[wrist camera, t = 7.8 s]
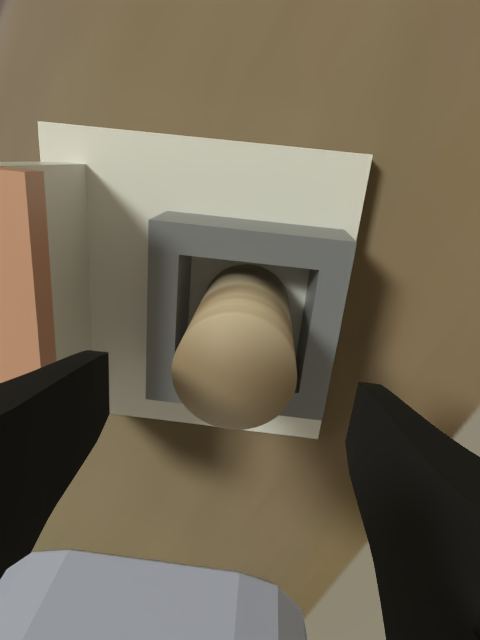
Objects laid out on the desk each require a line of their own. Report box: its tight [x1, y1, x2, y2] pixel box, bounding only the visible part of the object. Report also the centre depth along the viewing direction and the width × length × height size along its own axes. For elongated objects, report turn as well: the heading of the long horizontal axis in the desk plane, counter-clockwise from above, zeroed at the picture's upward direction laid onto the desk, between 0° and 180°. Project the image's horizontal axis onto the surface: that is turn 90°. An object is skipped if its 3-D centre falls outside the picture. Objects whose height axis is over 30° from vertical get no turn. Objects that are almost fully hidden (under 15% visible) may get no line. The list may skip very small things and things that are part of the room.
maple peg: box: [172, 264, 297, 430], centre depth 17 cm, size 4×4×7 cm
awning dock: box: [0, 121, 373, 439], centre depth 17 cm, size 14×14×8 cm
